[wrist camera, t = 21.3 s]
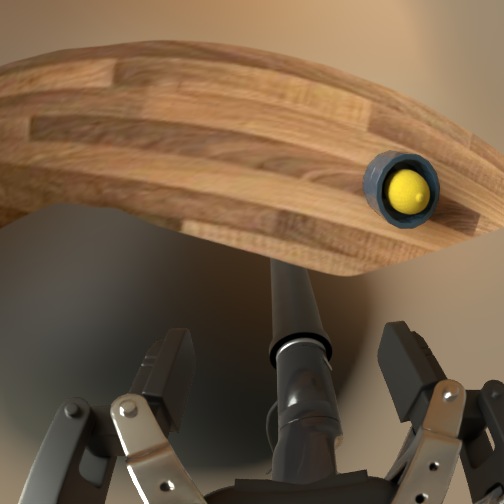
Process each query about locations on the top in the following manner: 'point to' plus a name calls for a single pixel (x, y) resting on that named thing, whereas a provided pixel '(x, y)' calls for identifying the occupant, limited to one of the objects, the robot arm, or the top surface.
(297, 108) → the top surface
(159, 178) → the top surface
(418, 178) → the lemon
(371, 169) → the bowl
